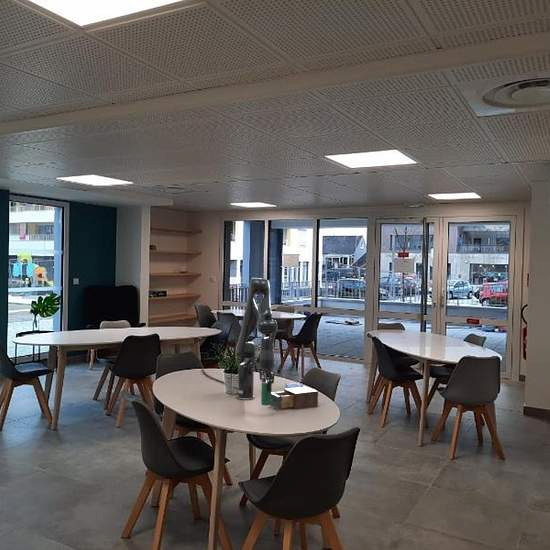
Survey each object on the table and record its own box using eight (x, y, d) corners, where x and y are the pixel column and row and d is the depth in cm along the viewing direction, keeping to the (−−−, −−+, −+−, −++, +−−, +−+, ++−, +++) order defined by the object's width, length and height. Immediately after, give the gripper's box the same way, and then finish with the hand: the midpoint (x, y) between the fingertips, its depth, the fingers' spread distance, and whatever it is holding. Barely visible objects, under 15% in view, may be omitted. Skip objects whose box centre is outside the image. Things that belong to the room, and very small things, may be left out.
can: (259, 403, 282) (259, 380, 282) (268, 402, 284) (268, 380, 284) (263, 405, 277) (264, 382, 277) (273, 404, 280) (273, 382, 280)
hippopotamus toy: (309, 397, 323) (310, 381, 323) (290, 400, 314) (290, 384, 314) (298, 394, 332) (298, 378, 332) (279, 397, 323) (279, 381, 323)
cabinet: (294, 409, 295) (295, 393, 295) (284, 404, 307) (284, 388, 307) (317, 406, 302) (318, 391, 302) (306, 401, 313) (306, 386, 313)
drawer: (271, 410, 289) (271, 397, 289) (261, 405, 299) (262, 392, 299) (299, 406, 297) (299, 394, 297) (289, 402, 308) (289, 390, 308)
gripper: (279, 359, 276) (279, 392, 276) (267, 355, 289) (266, 386, 289) (266, 360, 273) (266, 393, 273) (254, 356, 285) (254, 387, 285)
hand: (266, 389), depth 281 cm, fingers closed on can, 5 cm apart
